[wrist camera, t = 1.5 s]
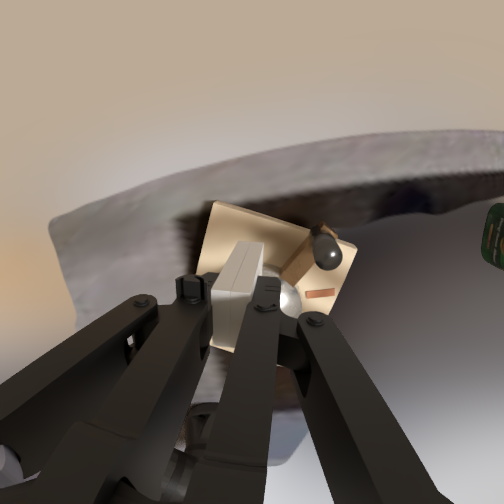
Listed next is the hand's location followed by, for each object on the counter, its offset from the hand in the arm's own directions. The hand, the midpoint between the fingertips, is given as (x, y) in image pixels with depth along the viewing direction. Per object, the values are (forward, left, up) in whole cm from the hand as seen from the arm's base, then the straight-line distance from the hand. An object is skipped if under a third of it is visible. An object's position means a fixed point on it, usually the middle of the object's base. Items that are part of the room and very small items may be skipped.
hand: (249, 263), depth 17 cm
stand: (-11, -3, -18) cm, 21 cm away
